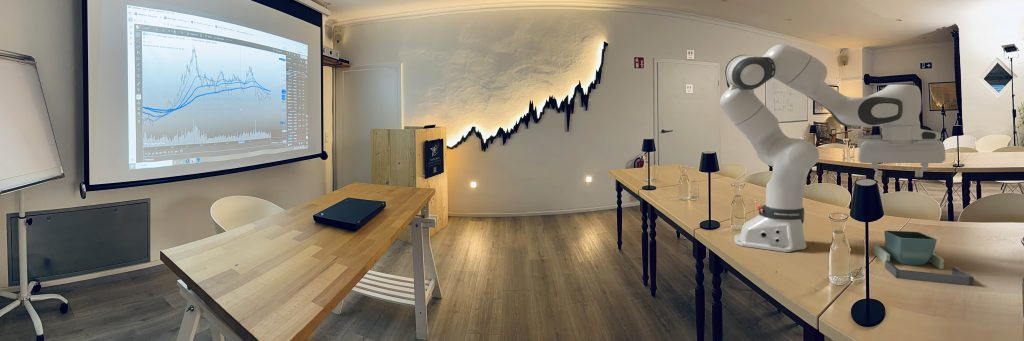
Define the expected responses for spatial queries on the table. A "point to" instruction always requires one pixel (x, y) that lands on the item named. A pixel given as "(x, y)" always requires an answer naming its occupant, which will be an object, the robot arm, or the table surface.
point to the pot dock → (932, 275)
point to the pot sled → (885, 256)
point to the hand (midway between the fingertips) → (898, 176)
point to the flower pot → (909, 247)
